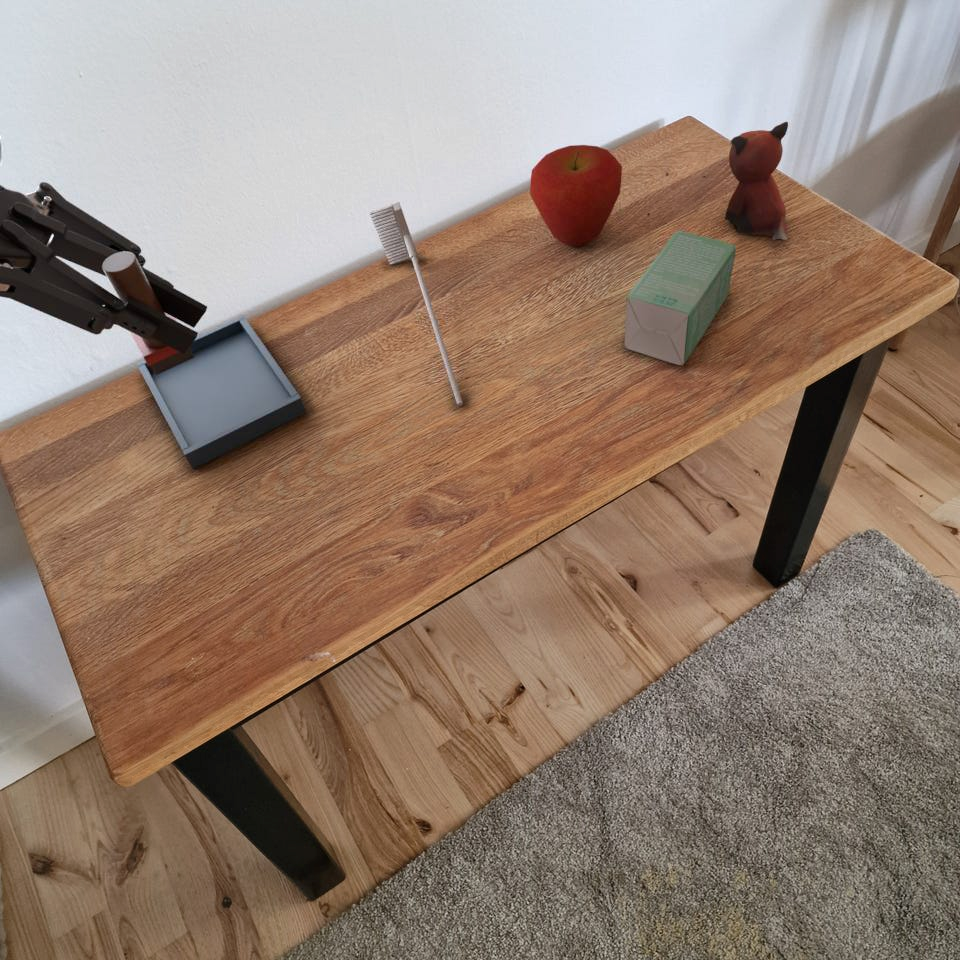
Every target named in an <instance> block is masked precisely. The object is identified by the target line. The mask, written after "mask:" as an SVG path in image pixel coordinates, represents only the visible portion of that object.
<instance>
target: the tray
mask: <svg viewBox="0 0 960 960" xmlns="http://www.w3.org/2000/svg"><path fill="white" fill-rule="evenodd" d="M189 348H190V350H191V352H192V354H193V356H194V358H192V359H190V360H188V361H186V362H184V363H182V364H179V365H177V366H175V367H173V368H171V369H169V370H166V371H164V372H162V373H160V374H158V375H156V374H155V372H154V371H153V369H152V367H151V365H150V366H148V364H147V363H146V361H145V359H144V358H143V359H142V360H140V361H137V362H136V366H137V367H138V369H139V372H140V373H141V375H142V377H143V379H144V381H145V382H146V383H145V384H147V387H148V389H149V390H150V393H151V394H152V396H153V398H154V400H155V402H156V403H157V405H158V407H159V409H160V411H161V413H162V415H163V418H164V419H165V421H166V423H167V425H168V427H169V429H170V430H171V432H172V434H173V436H174V438H175V440H176V442H177V444H178V446H179V447H180V449H181V451H182V453H183V455H184V456H185V457H184V458H186V460H187V462H188V464H189V465H190V467H191V468H192V469H196V468H197V467H199V466H202V465H203V464H205V463H207V462H209V461H211V460H213V459H215V458H217V457H219V456H222V455H223V454H225V453H227V452H229V451H231V450H233V449H235V448H237V447H240V446H241V445H244V444H246V443H248V442H250V441H252V440H253V439H255V438H258V437H260V436H262V435H263V434H265V433H267V432H269V431H272V430H273V429H275V428H278V427H280V426H282V425H284V424H285V423H287V422H290V421H291V420H293V419H295V418H298V417H299V416H302V415H304V414H306V413H307V409H306V405H305V404H304V402H303V401H304V400H303V398H302V397H301V395H300V394H299V392H298V391H297V390H296V388H295V387H294V385H293V384H292V383H291V381H290V380H289V378H288V376H287V375H286V374H285V373H284V371H283V370H282V368H281V367H280V365H279V364H278V362H277V361H276V359H275V358H274V357H273V355H272V354H271V352H270V351H269V350H268V348H267V347H266V345H265V344H264V343H263V341H262V340H261V338H260V337H259V335H258V334H257V333H256V331H255V330H254V328H253V327H252V325H251V324H250V322H249V321H248V319H247V318H246V317H245V316H244V314H242V315H239V316H237V317H235V318H232V319H230V320H228V321H226V322H224V323H222V324H219V325H217V326H216V327H213V328H211V329H209V330H207V331H206V330H205V331H204V332H201V333H200V334H197V337H196V339H195V340H194V342H193V343H192V344H191V347H189Z"/></svg>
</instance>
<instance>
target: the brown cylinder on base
mask: <svg viewBox="0 0 960 960" xmlns="http://www.w3.org/2000/svg"><path fill="white" fill-rule="evenodd" d="M102 269H103V271H104V272H105V274H106V276H107V277H106V276H105V277H106V278H107V280H108V282H109V284H110V285H111V287H112V288H113V290H114V292H115V294H116V296H117V297H118V298H119V299H121V300H122V301H123V302H124V304H125V305H126V303H127V301H128V300H129V298H130V297H131V298H133V299H135V300H137V301H139V302H141V303H143V304H145V305H147V306H148V307H150V308H152V309H154V310H156V311H158V312H160V313H162V314H164V315H166V316H167V317H169V318H171V319H173V320H175V321H177V319H176V318H174V317H172V316H170V315H169V314H167V313H165V312H164V311H163V309H162V307H161V305H160V303H159V301H158V299H157V297H156V295H155V293H154V291H153V289H152V287H151V285H150V283H149V281H148V279H147V278H146V276H145V274H144V272H143V270H142V268H141V266H140V264H139V262H138V260H137V258H136V256H135V255H134V254H133V253H131V252H126V251H123V252H118V253H115V254H113V255H111V256H109V257H108V258H106V259H105V261H104V262H103V264H102ZM128 332H129V334H130V336H131V337H132V339H133V341H134V343H135V344H136V347H137V348H138V350H139V352H140V354H141V356H142V358H143V360H144V359H145V361H146V363H147V364H148V366H150V365H151V367H152V369H153V371H154V372H155V374H156V375H158V374H160V373H162V372H164V371H166V370H169V369H171V368H173V367H175V366H177V365H179V364H182V363H184V362H186V361H188V360H190V359H192V358H194V356H193V354H192V352H191V350H190V348H189V349H188V350H187V351H186V353H185V354H183V353H181V352H179V351H177V350H175V349H173V348H171V347H169V346H167V345H165V344H163V343H161V342H159V341H157V340H155V339H153V338H151V339H150V340H149V339H144V338H142V337H140V336H138V335H136V334H134V333H132V332H130V331H128ZM190 347H191V346H190Z"/></svg>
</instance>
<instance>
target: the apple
mask: <svg viewBox="0 0 960 960" xmlns="http://www.w3.org/2000/svg"><path fill="white" fill-rule="evenodd" d="M622 173H623V166H622V164H621V163H620V162H619V160H618V159H617V158H616V157H615V156H614V155H613V154H612V153H611V152H610V151H609V150H608V149H606V148H603V147H600V146H597V145H588V144H575V145H568V146H567V145H566V146H564V147H561V148H557V149H555V150H553V151H551V152H549V153H546V154H545V155H544V156H543V158H541V159H540V160H539V161H538V162H537V163H536V165H535V166H534V167H533V168H532V169H531V175H530V184H529V186H530V187H529V195H530V197H531V199H532V201H533V203H534V205H535V207H536V209H537V211H538V213H539V214H540V216H541V218H542V220H543V222H544V223H545V225H546V226H547V228H548V230H549V232H550V233H551V235H552V236H553V238H554V239H556V241H559V242H560V243H562V244H563V245H566V246H568V247H572V248H573V247H575V248H577V247H582V246H585V245H587V244H589V243H590V242H592V241H593V240H595V239H596V238H598V236H599V235H600V233H601V232H602V230H603V229H604V228H605V225H606V223H607V222H608V220H609V218H610V216H611V214H612V212H613V210H614V208H615V205H616V203H617V201H618V199H619V196H620V194H621V186H622Z"/></svg>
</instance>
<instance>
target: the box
mask: <svg viewBox="0 0 960 960" xmlns="http://www.w3.org/2000/svg"><path fill="white" fill-rule="evenodd" d="M736 251H737V248H736V246H735V243H734V244H733V243H729V242H726V241H722V240H719V239H715V238H710V237H707V236H704V235H699V234H694V233H691V232H686V231H683V230H682V231H681V230H680V231H675V232H673V234H672V235H671V237H670V238H669V239H668V240H667V242H666V243H665V244H664V246H663V248H662V249H661V250H660V252H659V253H658V254H657V255H656V256H655V259H653V261H652V262H651V264H650V265H649V266H648V267H647V269H646V270H645V271H644V273H643V274H642V275H641V277H640V278H639V279H638V280H637V281H636V283H635V284H634V285H633V286H632V288H631V289H630V291H629V293H628V294H627V296H626V303H625V304H626V305H625V308H626V309H625V326H624V343H623V344H624V345H623V346H624V347H625V348H626V349H627V350H630V351H633V352H635V353H638V354H641V355H644V356H648V357H649V358H650V357H651V358H654V359H656V360H660V361H663V362H666V363H669V364H673V365H677V366H684V364H685V363H686V362H687V360H688V359H689V357H690V356H691V354H692V353H693V351H694V350H695V348H696V347H697V346H698V344H699V342H700V341H701V340H702V338H703V337H704V335H705V333H706V332H707V330H708V329H709V327H710V325H711V324H712V322H713V320H714V319H715V317H716V316H717V314H718V312H719V311H720V309H721V308H722V306H723V304H724V303H725V301H726V300H727V298H728V297H729V294H730V286H731V279H732V274H733V270H734V269H733V268H734V263H735V257H736Z"/></svg>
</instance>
